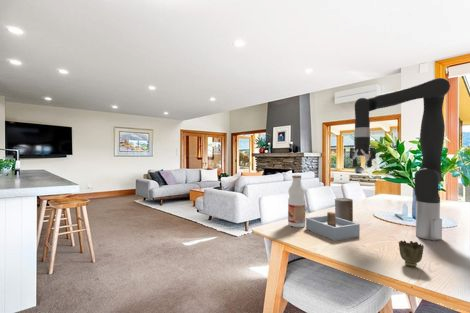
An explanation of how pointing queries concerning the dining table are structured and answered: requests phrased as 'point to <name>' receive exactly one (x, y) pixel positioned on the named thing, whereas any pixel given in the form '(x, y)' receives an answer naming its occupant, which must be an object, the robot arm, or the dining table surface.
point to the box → (333, 228)
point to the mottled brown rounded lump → (411, 252)
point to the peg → (331, 219)
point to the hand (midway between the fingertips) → (362, 167)
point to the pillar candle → (344, 208)
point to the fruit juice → (296, 203)
